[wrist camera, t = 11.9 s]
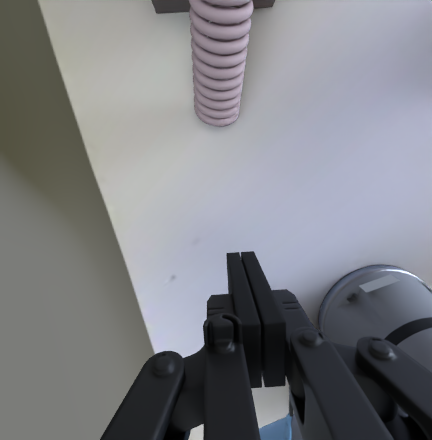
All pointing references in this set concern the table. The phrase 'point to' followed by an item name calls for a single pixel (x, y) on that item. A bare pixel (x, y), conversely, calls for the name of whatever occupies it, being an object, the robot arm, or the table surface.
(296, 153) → the table surface
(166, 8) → the walnut block
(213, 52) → the coil
